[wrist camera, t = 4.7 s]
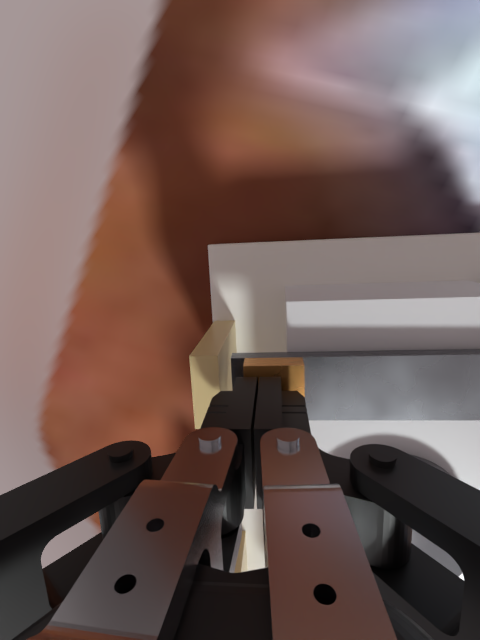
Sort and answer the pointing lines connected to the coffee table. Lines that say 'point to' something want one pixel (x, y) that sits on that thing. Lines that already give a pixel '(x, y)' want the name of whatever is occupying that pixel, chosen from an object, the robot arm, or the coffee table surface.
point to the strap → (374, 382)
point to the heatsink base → (312, 263)
